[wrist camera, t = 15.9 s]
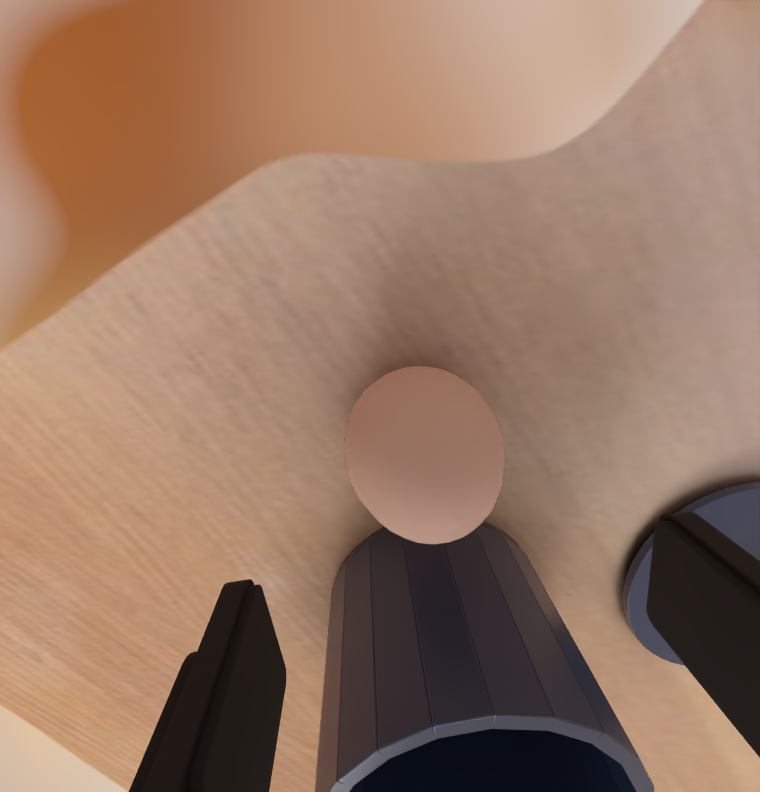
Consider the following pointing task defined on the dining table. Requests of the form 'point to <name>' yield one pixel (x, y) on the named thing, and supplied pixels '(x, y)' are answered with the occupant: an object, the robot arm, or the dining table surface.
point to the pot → (460, 678)
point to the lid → (726, 511)
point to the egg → (425, 454)
